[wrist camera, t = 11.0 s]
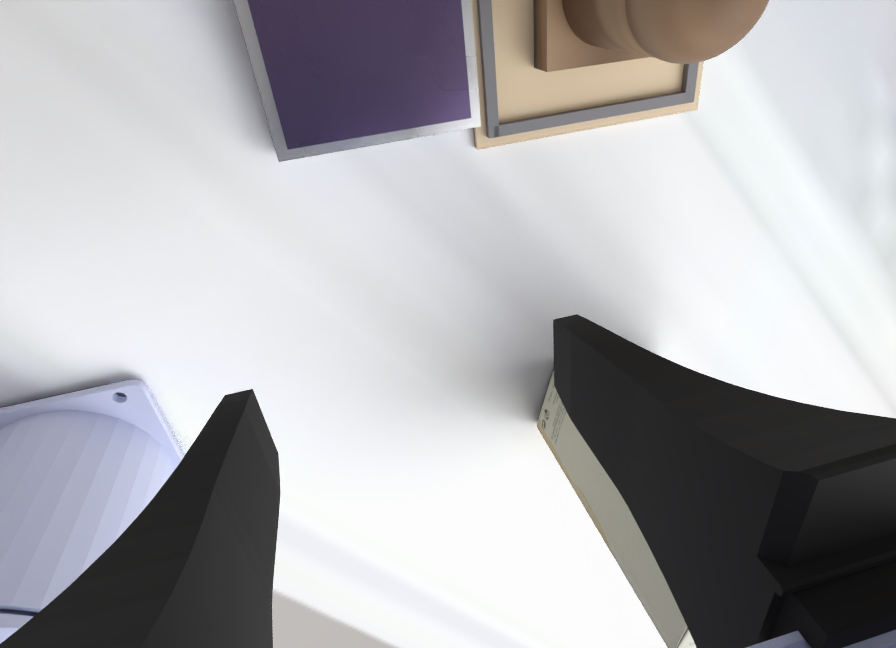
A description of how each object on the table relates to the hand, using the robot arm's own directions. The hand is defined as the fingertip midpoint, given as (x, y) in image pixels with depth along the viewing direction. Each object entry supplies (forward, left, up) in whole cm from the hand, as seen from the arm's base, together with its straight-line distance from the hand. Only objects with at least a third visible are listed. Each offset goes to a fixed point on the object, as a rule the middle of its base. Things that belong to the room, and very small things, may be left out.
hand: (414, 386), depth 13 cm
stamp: (+9, +7, -10) cm, 15 cm away
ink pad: (+1, +7, -10) cm, 12 cm away
